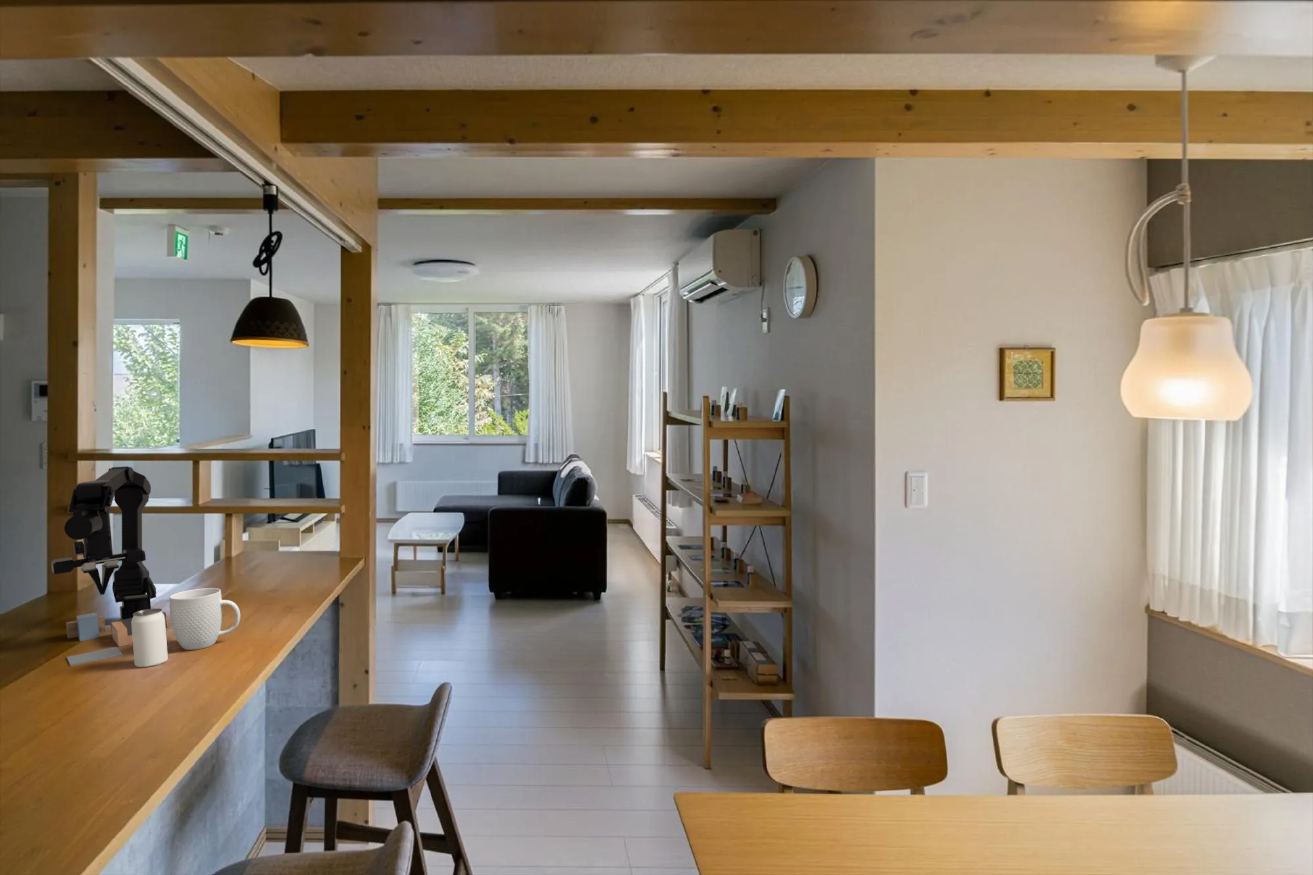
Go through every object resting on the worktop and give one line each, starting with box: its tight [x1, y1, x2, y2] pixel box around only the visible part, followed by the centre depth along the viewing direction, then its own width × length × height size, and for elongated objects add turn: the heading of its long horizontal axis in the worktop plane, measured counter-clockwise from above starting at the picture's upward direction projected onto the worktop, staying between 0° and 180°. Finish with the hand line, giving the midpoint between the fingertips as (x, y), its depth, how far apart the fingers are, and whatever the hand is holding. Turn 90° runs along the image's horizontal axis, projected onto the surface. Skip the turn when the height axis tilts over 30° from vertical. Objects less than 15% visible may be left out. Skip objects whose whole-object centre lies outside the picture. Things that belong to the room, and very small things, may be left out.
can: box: [131, 608, 169, 669], centre depth 182 cm, size 6×6×12 cm
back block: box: [65, 615, 107, 640], centre depth 208 cm, size 8×2×4 cm, turn 131°
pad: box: [66, 646, 123, 667], centre depth 188 cm, size 10×8×1 cm
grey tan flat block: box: [110, 611, 168, 647], centre depth 204 cm, size 12×12×4 cm
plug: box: [76, 612, 100, 642], centre depth 204 cm, size 4×4×6 cm
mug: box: [168, 587, 241, 651], centre depth 194 cm, size 15×11×13 cm
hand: (102, 594), depth 198 cm, fingers closed
